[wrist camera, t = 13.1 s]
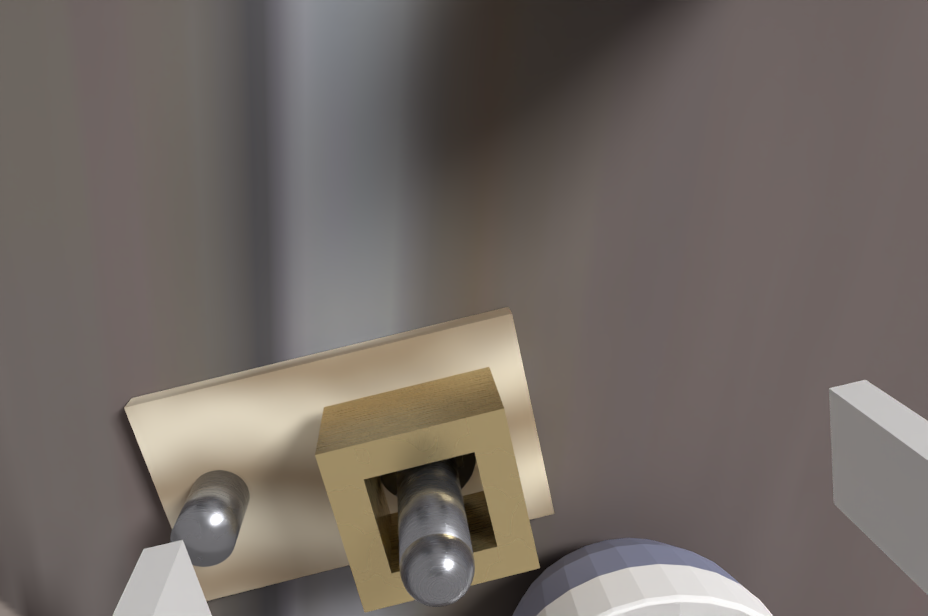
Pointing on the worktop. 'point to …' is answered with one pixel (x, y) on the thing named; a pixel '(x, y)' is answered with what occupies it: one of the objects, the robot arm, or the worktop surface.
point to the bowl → (637, 584)
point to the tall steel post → (434, 529)
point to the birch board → (315, 439)
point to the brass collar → (413, 444)
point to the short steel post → (212, 517)
